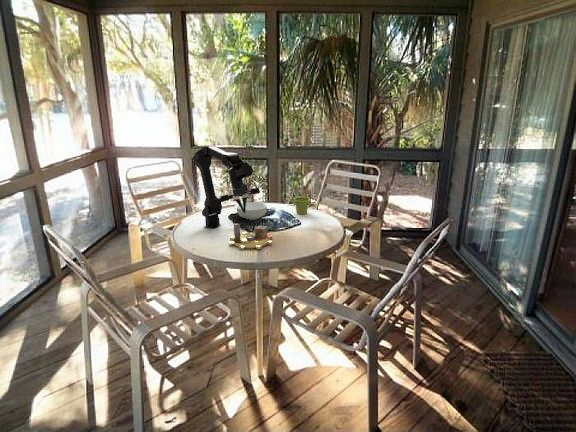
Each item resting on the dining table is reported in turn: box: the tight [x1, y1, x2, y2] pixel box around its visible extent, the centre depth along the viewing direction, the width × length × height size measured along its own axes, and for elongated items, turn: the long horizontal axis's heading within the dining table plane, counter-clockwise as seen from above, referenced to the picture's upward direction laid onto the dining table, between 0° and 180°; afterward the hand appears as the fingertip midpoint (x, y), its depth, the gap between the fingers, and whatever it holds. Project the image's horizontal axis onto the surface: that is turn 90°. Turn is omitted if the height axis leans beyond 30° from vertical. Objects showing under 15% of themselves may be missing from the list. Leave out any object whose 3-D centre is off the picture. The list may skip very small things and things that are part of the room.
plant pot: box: [293, 196, 311, 215], centre depth 227 cm, size 9×9×9 cm
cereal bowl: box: [236, 201, 268, 221], centre depth 220 cm, size 17×17×7 cm
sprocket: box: [228, 223, 273, 250], centre depth 184 cm, size 21×21×10 cm
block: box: [254, 225, 269, 238], centre depth 188 cm, size 4×4×4 cm
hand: (244, 212), depth 184 cm, fingers closed
